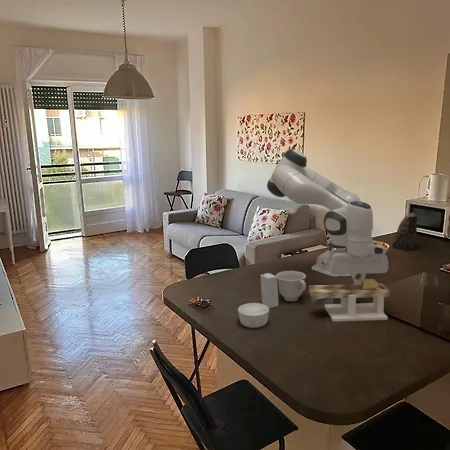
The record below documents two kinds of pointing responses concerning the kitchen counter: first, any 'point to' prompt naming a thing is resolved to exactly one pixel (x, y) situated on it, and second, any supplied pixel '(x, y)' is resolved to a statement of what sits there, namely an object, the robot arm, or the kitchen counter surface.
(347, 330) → the kitchen counter surface
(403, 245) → the owl
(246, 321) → the ramekin
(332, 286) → the beam
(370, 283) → the tan rectangular block
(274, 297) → the skincare box
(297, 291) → the teacup
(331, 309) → the pivot stand
